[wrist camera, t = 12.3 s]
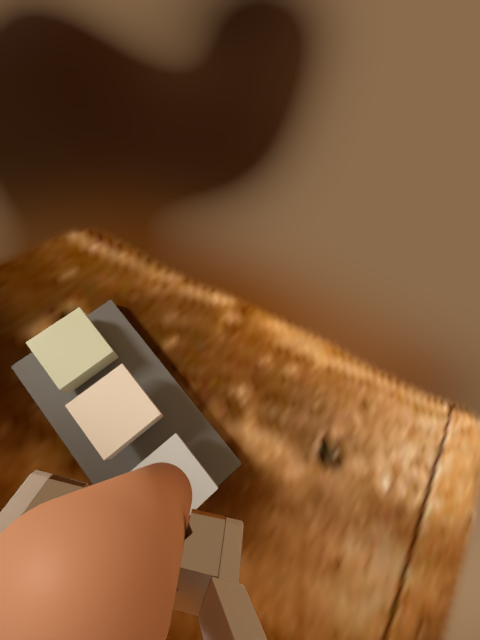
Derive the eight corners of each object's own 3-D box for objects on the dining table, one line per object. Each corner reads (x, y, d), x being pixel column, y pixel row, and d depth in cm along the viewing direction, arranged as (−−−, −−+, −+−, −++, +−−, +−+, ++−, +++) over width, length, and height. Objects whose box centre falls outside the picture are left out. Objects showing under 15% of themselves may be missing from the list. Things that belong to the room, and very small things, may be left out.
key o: (37, 349, 28) (25, 342, 26) (87, 316, 29) (79, 307, 27) (69, 393, 27) (59, 389, 25) (119, 357, 28) (113, 351, 27)
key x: (74, 408, 26) (64, 405, 24) (127, 369, 27) (122, 363, 25) (111, 459, 25) (103, 460, 23) (163, 416, 26) (160, 413, 24)
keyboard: (18, 369, 29) (10, 366, 28) (113, 304, 32) (110, 299, 30) (145, 551, 26) (142, 556, 25) (240, 463, 28) (242, 463, 27)
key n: (124, 478, 24) (118, 481, 23) (177, 433, 26) (175, 432, 24) (164, 533, 24) (161, 541, 22) (217, 485, 25) (218, 488, 23)
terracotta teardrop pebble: (112, 494, 16) (-84, 599, 5) (165, 448, 17) (98, 452, 6) (152, 550, 16) (31, 806, 5) (205, 500, 17) (214, 612, 5)
